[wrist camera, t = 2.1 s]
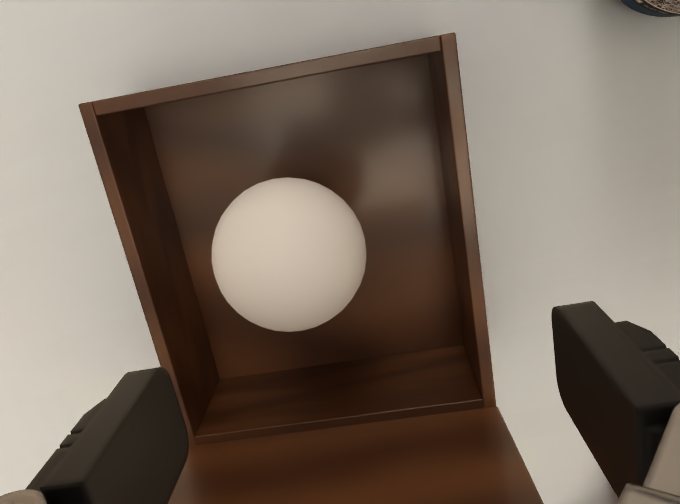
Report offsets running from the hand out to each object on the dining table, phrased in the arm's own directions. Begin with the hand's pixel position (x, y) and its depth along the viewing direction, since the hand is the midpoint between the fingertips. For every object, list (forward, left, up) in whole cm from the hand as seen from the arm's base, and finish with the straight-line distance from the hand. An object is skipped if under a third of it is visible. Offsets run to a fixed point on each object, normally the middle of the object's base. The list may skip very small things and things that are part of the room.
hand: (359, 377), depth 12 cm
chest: (+2, -3, -20) cm, 20 cm away
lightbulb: (+1, -3, -19) cm, 20 cm away
